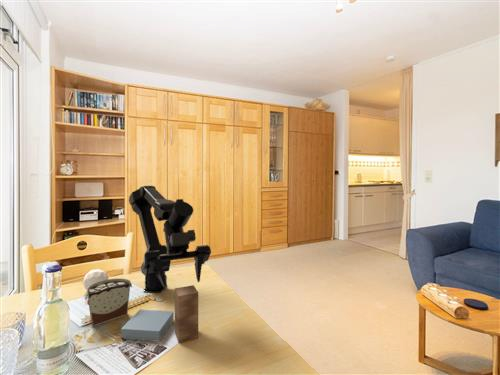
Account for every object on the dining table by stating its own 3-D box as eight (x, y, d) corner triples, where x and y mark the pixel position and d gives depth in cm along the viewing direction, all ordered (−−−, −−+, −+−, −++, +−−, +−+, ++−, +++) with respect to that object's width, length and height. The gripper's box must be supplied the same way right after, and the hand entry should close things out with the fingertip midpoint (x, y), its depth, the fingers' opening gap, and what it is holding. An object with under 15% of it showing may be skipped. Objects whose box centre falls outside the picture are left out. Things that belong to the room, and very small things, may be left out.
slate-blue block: (121, 340, 71) (121, 328, 71) (139, 319, 81) (139, 309, 81) (159, 342, 70) (159, 331, 70) (173, 321, 80) (173, 311, 80)
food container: (124, 305, 88) (124, 274, 88) (132, 312, 84) (132, 280, 83) (80, 319, 80) (79, 285, 79) (86, 328, 75) (85, 292, 75)
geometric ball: (92, 301, 97) (76, 288, 92) (93, 285, 103) (79, 272, 99) (112, 289, 98) (98, 275, 94) (112, 274, 105) (99, 260, 100)
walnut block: (178, 343, 69) (178, 296, 69) (174, 332, 74) (174, 288, 73) (198, 338, 71) (198, 292, 71) (193, 328, 76) (193, 285, 75)
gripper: (144, 222, 77) (148, 275, 67) (209, 218, 85) (221, 265, 75) (142, 244, 84) (145, 294, 75) (202, 238, 92) (212, 283, 83)
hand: (182, 284), depth 77 cm, fingers open, 9 cm apart
